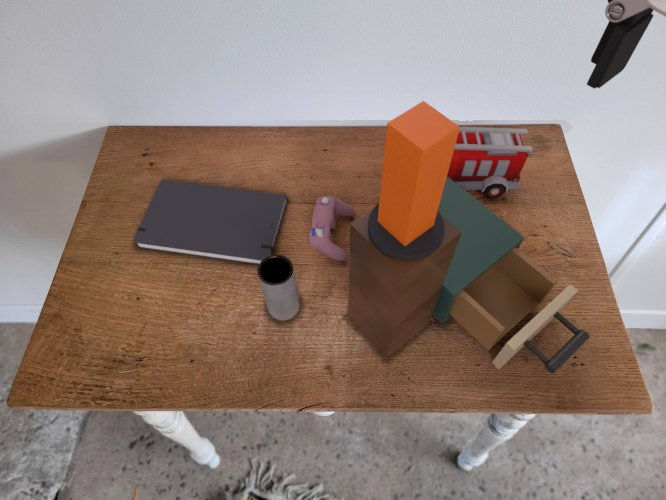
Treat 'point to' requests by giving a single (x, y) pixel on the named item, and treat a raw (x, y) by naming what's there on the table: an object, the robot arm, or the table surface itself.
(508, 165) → the toy fire truck
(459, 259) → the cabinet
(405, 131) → the block
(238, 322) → the table surface
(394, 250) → the coaster
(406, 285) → the stand
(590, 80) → the robot arm
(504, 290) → the drawer
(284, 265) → the planter
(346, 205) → the video game controller
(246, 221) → the notebook
